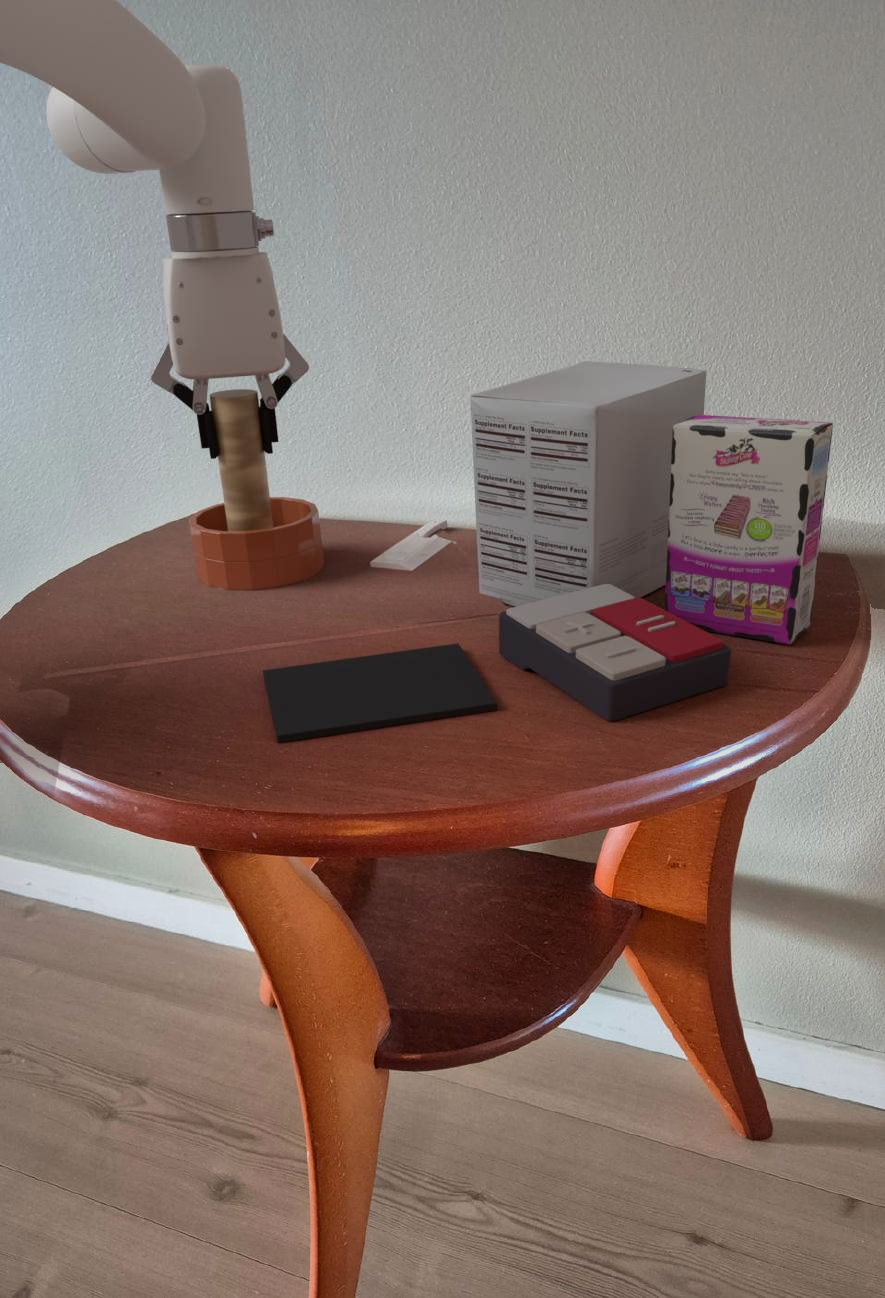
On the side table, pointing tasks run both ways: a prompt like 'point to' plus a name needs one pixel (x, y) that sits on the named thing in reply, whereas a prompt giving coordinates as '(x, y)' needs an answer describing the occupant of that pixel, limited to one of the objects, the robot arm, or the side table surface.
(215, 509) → the crock
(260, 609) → the side table surface
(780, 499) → the candy bar box
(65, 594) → the side table surface
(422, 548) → the butcher knife
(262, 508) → the pestle
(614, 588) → the calculator
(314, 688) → the mat
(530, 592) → the supplement box
